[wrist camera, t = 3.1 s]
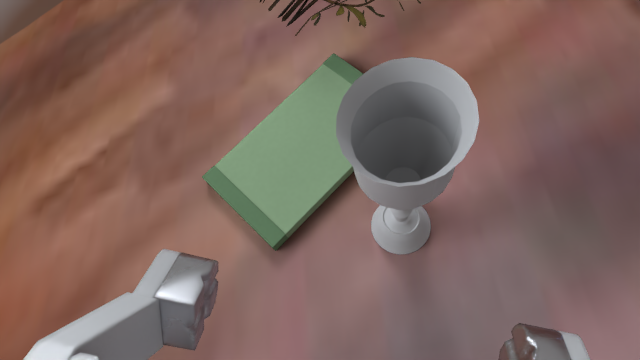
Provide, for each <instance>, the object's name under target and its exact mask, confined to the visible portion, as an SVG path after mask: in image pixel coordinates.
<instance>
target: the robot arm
mask: <svg viewBox="0 0 640 360" xmlns="http://www.w3.org/2000/svg"><path fill="white" fill-rule="evenodd" d="M217 272H218V261H216V260H211V259H207V258H203V257H199V256H194V255H190V254H186V253H180V252H176V251H172V250H167V249H163V250H162V251H160V252H159V253H158V255H157V256H156V258H155V259H154V261H153V263H152V264H151V266H150V267H149V269H148V270H147V272H146V273H145V275H144V276H143V278H142V280H141V281H140V283H139V284H138V286H137V287H136V289H135V290H134V292H133V293H128V292H127V293H125V294H123V295H121V296H120V297H118V298H116V299H114V300H112V301H110V302H109V303H107V304H105V305H103V306H101V307H99V308H98V309H96V310H94V311H92V312H90V313H88V314H87V315H85V316H83V317H81V318H79V319H77V320H76V321H74V322H72V323H70V324H68V325H66V326H65V327H63V328H61V329H59V330H57V331H55V332H54V333H52V334H50V335H48V336H46V337H44V338H43V339H41V340H39V341H37V343H36V344H35V345H34V346H33V348H32V349H31V350H30V351H29V353H28V354H27V355H26V357H25V358H24V359H23V360H147V359H148V358H150V357H151V356H152V355H153V354H155V353H156V352H157V351H158V350H160V349H161V348H162V347H163V345H167V346H173V347H178V348H184V349H189V350H194V351H195V349H196V347H197V344H198V342H199V340H200V338H201V335H202V333H203V331H204V319H206V318H207V317H209V316H210V314H211V312H212V309H213V307H214V303H215V300H216V296H217V290H218V281H217V280H216V279H215V277H216V274H217ZM511 333H512V336H513V338H512V339H510V340H508V341H505V342H504V344H503V346H502V348H501V349H500V354H499V359H498V360H590V358H589V355H588V353H587V351H586V348H585V346H584V344H583V341H582V339H581V338H580V337H579V336H578V335H576V334H571V333H567V332H562V331H556V330H552V329H547V328H542V327H537V326H532V325H527V324H522V323H519V324H517V325H515V326H514V328H513V330H512V331H511Z"/></svg>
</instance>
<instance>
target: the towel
mask: <svg viewBox="0 0 640 360" xmlns="http://www.w3.org/2000/svg"><path fill="white" fill-rule="evenodd" d="M362 75H363V73H361V72H360V71H359V70H357V69H356V68H354V67H353V66H351V65H350V64H348V63H347V62H346V61H344V60H343V59H341V58H340V57H338V56H337V55H336V54H334V53H333V54H332V55H331V56H330V57H329V58H328V59H327V60H326V61H325V62H324V63H323V65H321V66H320V67H319V68H318V69H317V70H316V71H315V72H314V73H313V74H312V75H311V76H310V77H309V78H308V79H307V80H306V81H304V82H303V83H302V84H301V85H300V86H299V87H298V88H297V89H296V90H295V91H294V92H293V93H292V94H291V95H290V96H288V97H287V98H286V99H285V100H284V101H283V102H282V103H281V104H280V105H279V106H278V107H277V108H276V109H275V110H274V111H272V112H271V113H270V114H269V115H268V116H267V117H266V118H265V119H264V120H263V121H262V122H261V123H260V124H259V125H258V126H257V127H255V128H254V129H253V130H252V131H251V132H250V133H249V134H248V135H247V136H246V137H245V138H244V139H243V140H242V141H241V142H239V143H238V144H237V145H236V146H235V147H234V148H233V149H232V150H231V151H230V152H229V153H228V154H227V155H226V156H225V157H224V158H222V159H221V160H220V161H219V162H218V163H217V164H216V165H215V166H213V167H212V168H211V169H210V170H209V171H208V172H207V173H206V174H205V175H203V176H202V178H203V179H204V180H205V181H206V182H207V183H208V184H209V185H210V186H211V187H212V188H213V189H214V190H215V191H216V192H217V193H218V194H219V195H220V196H221V197H222V198H223V199H224V200H225V201H226V202H227V203H228V204H229V205H230V206H231V207H232V208H233V209H234V210H235V211H236V212H237V213H238V214H239V215H240V216H241V217H242V218H243V219H244V220H245V221H246V222H247V223H248V224H249V225H250V226H251V227H252V228H253V229H254V230H255V231H256V232H257V233H258V234H259V235H260V236H261V237H262V238H263V239H264V240H265V241H266V242H267V243H268V244H269V245H270V246H271V247H272V248H273V249H274V250H275V251H276V250H277V249H278V248H279V247H280V246H281V245H282V244H283V243H284V242H285V241H286V240H287V239H288V238H289V237H290V236H291V235H292V234H293V233H294V232H295V231H296V230H297V229H298V228H299V227H300V226H301V225H302V223H303V222H304V221H305V220H306V219H307V218H308V217H309V216H310V215H311V214H312V213H313V212H314V211H315V210H316V209H317V208H318V207H319V206H320V205H321V204H322V203H323V202H324V201H325V200H326V199H327V198H328V197H329V196H330V195H331V194H332V193H333V192H334V191H335V190H336V189H337V188H338V187H339V186H340V185H341V184H342V183H343V182H344V181H345V180H346V179H347V178H348V177H349V176H350V175H351V174H352V173H353V172H354V168H353V166H352V165H351V164H350V162H349V161H348V160H347V159H346V157H345V156H344V155H343V154H342V151H341V148H340V145H339V142H338V139H337V136H336V116H337V112H338V110H339V107H340V104H341V101H342V99H343V96H344V95H345V94H346V92H347V91H348V90H349V88H350V87H351V86H352V84H353V83H354V81H355V80H357V79H358V78H359V77H361V76H362Z"/></svg>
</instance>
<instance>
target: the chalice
mask: <svg viewBox="0 0 640 360" xmlns="http://www.w3.org/2000/svg"><path fill="white" fill-rule="evenodd" d="M478 124H479V116H478V107H477V100H476V98H475V97H474V95H473V93H472V91H471V89H470V87H469V85H468V83H467V82H466V81H465V80H464V79H463V78H462V77H461V76H460V75H458V74H457V73H456V72H455V71H454V70H453V69H452V68H449V67H447V66H445V65H443V64H441V63H439V62H436V61H434V60H429V59H422V58H415V57H409V58H402V59H394V60H390V61H387V62H385V63H382V64H380V65H378V66H375V67H373V68H371V69H370V70H368V71H367V72H366V73H364V74H363V75H362V76H361V77H359V78H358V79H357V80H355V81H354V83H353V84H352V86H351V87H350V88H349V90H348V91H347V92H346V94H345V95H344V96H343V99H342V101H341V104H340V107H339V110H338V112H337V116H336V136H337V139H338V142H339V145H340V148H341V151H342V154H343V155H344V156H345V157H346V159H347V160H348V161H349V162H350V164H351V165H352V166H353V168H354V173H355V176H356V178H357V181H358V184H359V186H360V188H361V189H362V190H363V191H364V193H365V194H366V195H367V196H368V198H370V199H372V200H373V201H375V202H376V203H378V204H380V206H379V207H378V208H377V210H376V211H375V213H374V215H373V218H372V222H371V228H372V234H373V236H374V239H375V240H376V242H377V243H378V244H379V245H380V246H381V247H382V248H383V249H385V250H386V251H388V252H391V253H395V254H409V253H412V252H414V251H417V250H418V249H419V248H421V247H422V246H423V245H424V244H425V242H426V241H427V239H428V238H429V234H430V230H431V225H430V218H429V216H428V214H427V212H426V210H425V209H424V208H423V207H422V205H424V204H427V203H429V202H431V201H432V200H434V199H435V198H436V197H437V196H438V195H440V194H441V193H442V192H443V191H444V189H445V188H446V186H447V185H448V183H449V181H450V180H451V178H452V175H453V172H454V169H455V166H456V165H457V164H458V163H460V162H461V161H462V160H463V159H464V157H465V155H466V154H467V152H468V151H469V149H470V147H471V146H472V144H473V143H474V141H475V136H476V132H477V128H478Z"/></svg>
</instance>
